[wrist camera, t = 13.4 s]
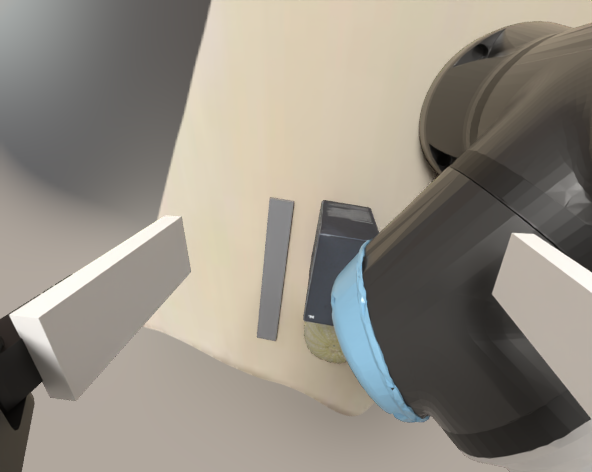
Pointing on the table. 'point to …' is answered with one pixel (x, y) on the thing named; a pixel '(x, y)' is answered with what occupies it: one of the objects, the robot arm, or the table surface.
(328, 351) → the sea urchin shell
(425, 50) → the table surface
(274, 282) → the gray strip
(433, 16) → the table surface
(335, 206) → the small box
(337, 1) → the table surface
